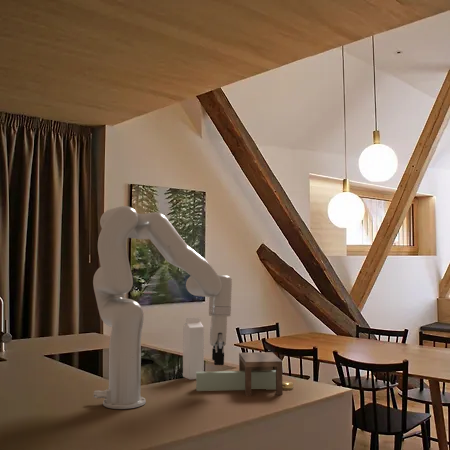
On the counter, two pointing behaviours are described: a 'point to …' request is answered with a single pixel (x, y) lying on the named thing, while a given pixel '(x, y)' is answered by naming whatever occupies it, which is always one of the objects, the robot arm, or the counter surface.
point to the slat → (234, 380)
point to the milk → (193, 348)
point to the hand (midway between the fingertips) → (217, 362)
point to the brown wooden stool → (260, 367)
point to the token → (287, 385)
